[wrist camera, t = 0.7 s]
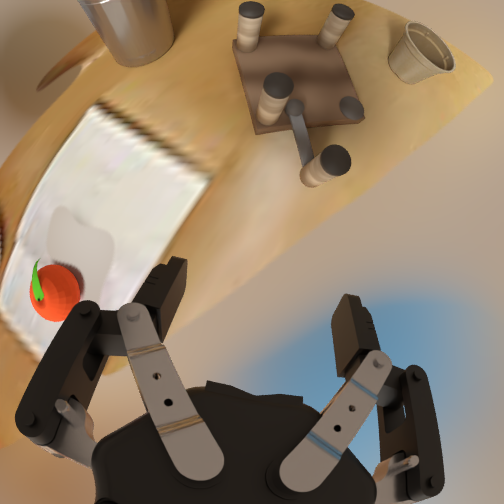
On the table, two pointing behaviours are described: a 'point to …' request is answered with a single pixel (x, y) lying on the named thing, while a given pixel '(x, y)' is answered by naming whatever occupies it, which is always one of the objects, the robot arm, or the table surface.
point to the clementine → (53, 292)
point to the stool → (295, 72)
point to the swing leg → (323, 165)
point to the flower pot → (420, 54)
